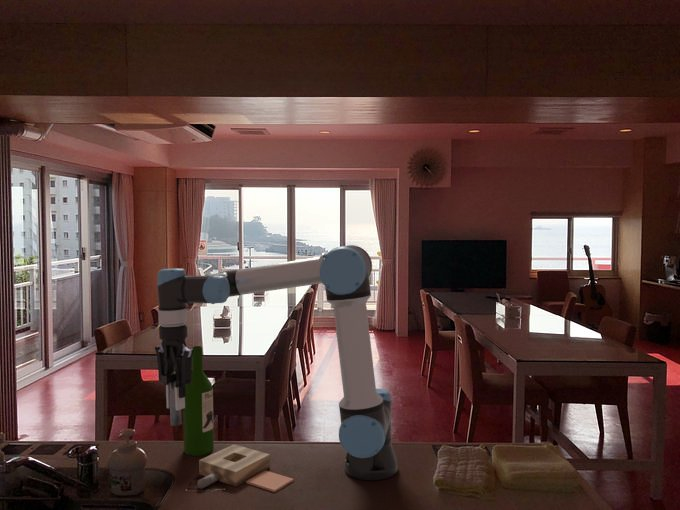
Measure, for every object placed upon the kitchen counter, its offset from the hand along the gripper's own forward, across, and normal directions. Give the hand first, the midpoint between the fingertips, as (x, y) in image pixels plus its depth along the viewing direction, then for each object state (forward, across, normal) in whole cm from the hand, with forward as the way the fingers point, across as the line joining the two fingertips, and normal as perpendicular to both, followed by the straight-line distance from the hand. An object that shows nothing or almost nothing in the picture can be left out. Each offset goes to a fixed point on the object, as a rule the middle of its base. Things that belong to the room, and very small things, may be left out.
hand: (175, 407), depth 159 cm
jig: (+19, -11, -8) cm, 24 cm away
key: (+5, 0, 0) cm, 5 cm away
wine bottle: (+19, +9, -16) cm, 26 cm away
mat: (+20, -24, -11) cm, 33 cm away
